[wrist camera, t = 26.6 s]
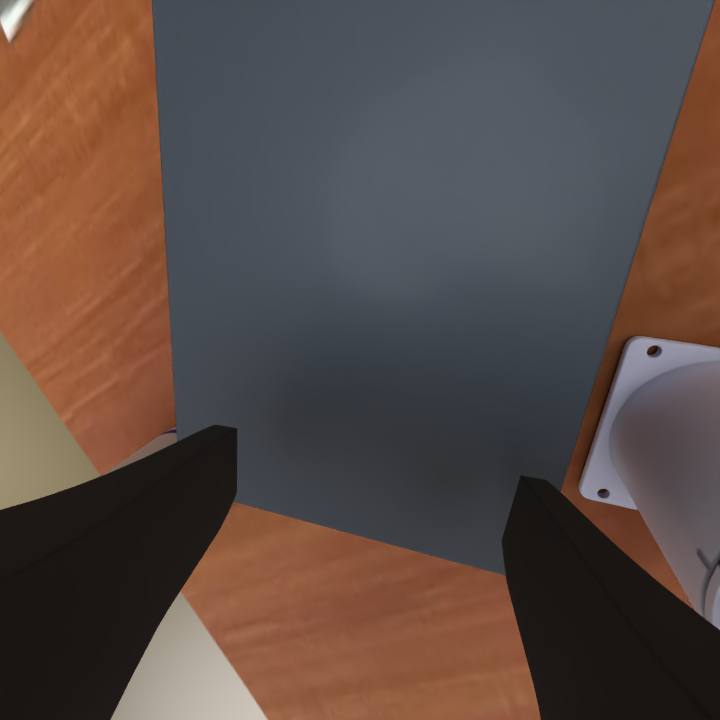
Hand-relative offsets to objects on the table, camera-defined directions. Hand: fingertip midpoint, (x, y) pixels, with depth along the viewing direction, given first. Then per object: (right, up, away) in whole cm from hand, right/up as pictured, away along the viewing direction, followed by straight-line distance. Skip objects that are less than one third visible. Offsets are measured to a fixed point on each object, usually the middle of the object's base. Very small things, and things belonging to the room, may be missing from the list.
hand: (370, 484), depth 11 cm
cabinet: (+2, +7, +9) cm, 11 cm away
